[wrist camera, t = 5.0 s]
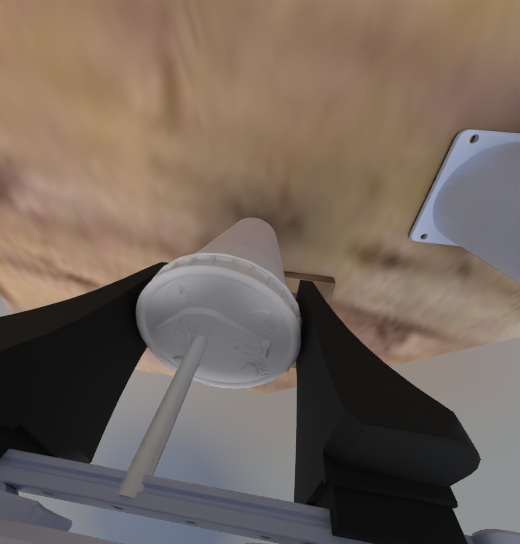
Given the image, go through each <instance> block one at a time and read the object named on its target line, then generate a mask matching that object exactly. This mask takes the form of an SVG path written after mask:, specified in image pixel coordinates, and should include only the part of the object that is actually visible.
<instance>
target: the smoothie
mask: <svg viewBox="0 0 520 544" xmlns="http://www.w3.org/2000/svg"><path fill="white" fill-rule="evenodd" d="M136 322H137V326H138V329H139V332H140V334H141V337H142V338H143V340H144V342H145V343H146V345H147V347H148V348H149V349H150V350H151V351H152V353H153V354H154V355H155V356H156V357H157V358H158V359H159V360H160V361H162V362H163V363H164V364H165V365H166V366H168V367H169V368H171V369H172V370H174V371H175V372H176V374H175V376H174V378H173V380H172V382H171V384H170V386H169V388H168V390H167V392H166V394H165V396H164V398H163V400H162V402H161V404H160V406H159V408H158V410H157V412H156V414H155V416H154V418H153V420H152V422H151V424H150V426H149V428H148V430H147V432H146V434H145V437H144V438H143V440H142V442H141V444H140V447H139V449H138V451H137V453H136V455H135V457H134V459H133V461H132V463H131V465H130V467H129V469H128V472H129V473H128V475H127V477H126V479H125V480H123V482H122V483H121V485H120V491H119V493H118V495H119V496H125V497H130V498H135V496H136V493H137V492H141V491H143V490H144V485H143V484H142V482H141V481H142V479H143V476H144V475H151V476H153V475H154V472H155V470H156V467H157V465H158V462H159V460H160V457H161V455H162V453H163V450H164V448H165V445H166V443H167V440H168V438H169V436H170V433H171V431H172V428H173V426H174V423H175V421H176V418H177V416H178V413H179V411H180V409H181V406H182V404H183V401H184V399H185V396H186V394H187V392H188V389H189V387H190V384H191V382H192V380H194V381H197V382H200V383H203V384H207V385H212V386H216V387H224V388H247V387H254V386H258V385H262V384H266V383H268V382H270V381H272V380H274V379H276V378H278V377H279V376H281V375H282V374H284V373H285V372H286V371H287V370H288V369H289V368H290V367H291V366H292V365H293V363H294V362H295V360H296V358H297V356H298V354H299V350H300V345H301V326H302V319H301V315H300V311H299V306H298V303H297V302H296V300H295V298H294V297H293V295H292V293H291V292H290V290H289V288H288V287H287V285H286V281H285V276H284V271H283V266H282V261H281V256H280V252H279V247H278V242H277V237H276V234H275V232H274V230H273V228H272V227H271V226H270V225H269V224H268V223H267V222H265V221H264V220H261V219H258V218H245V219H242V220H240V221H238V222H237V223H235V224H234V225H233V226H231V227H230V228H229V229H227V230H226V231H225V232H223V233H222V234H221V235H219V236H218V237H217V238H215V239H214V240H213V241H211V242H210V243H209V244H207V245H206V246H205V247H203V248H202V249H201V250H199V251H198V252H196V253H195V254H191V255H187V256H182V257H179V258H178V259H176V260H174V261H172V262H170V263H169V264H167V265H165V266H163V267H162V269H161V270H160V271H159V272H158V273H157V274H156V275H155V277H154V278H153V279H152V281H151V282H149V283H148V284H147V286H146V287H145V288H144V289H143V291H142V292H141V294H140V296H139V298H138V301H137V305H136Z"/></svg>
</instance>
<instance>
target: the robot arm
mask: <svg viewBox="0 0 520 544" xmlns="http://www.w3.org/2000/svg"><path fill="white" fill-rule="evenodd" d="M473 135H474V136H475V139H474V140H473V142H471V143H470V138H471V137H472V136H473ZM423 234H425V236H424V237H422V238H420V237H421V235H423ZM409 237H410V239H412V240H413V241H418V242H426V243H435V244H444V245H453V246H460V247H462V248H464V249H465V250H467V251H468V252H470V253H471V254H473V255H475V256H476V257H478V258H479V259H481V260H483V261H484V262H486V263H487V264H489V265H491V266H492V267H494V268H495V269H497V270H498V271H500V272H502V273H503V274H505V275H506V276H508V277H510V278H511V279H513V280H514V281H516V282H518V283H519V284H520V133H508V132H496V131H484V130H471V129H469V130H463V131H461V132H460V133H459V134H457V136H456V137H455V140H454V142H453V144H452V146H451V148H450V150H449V152H448V154H447V156H446V158H445V161H444V163H443V165H442V167H441V169H440V171H439V173H438V175H437V177H436V180H435V182H434V184H433V186H432V188H431V190H430V192H429V194H428V196H427V199H426V201H425V203H424V205H423V207H422V209H421V211H420V213H419V215H418V217H417V220H416V222H415V224H414V226H413V228H412V230H411V232H410V235H409ZM167 264H169V263H166V262H161V263H158V264H155V265H153V266H151V267H148V268H146V269H144V270H141V271H139V272H137V273H135V274H133V275H130V276H128V277H126V278H124V279H121V280H119V281H116V282H114V283H112V284H109V285H107V286H104V287H102V288H99V289H97V290H94V291H92V292H89V293H86V294H83V295H80V296H77V297H74V298H71V299H68V300H65V301H61V302H58V303H54V304H51V305H47V306H43V307H40V308H36V309H32V310H28V311H24V312H20V313H16V314H12V315H7V316H2V317H0V544H121V543H117V542H113V541H108V540H104V539H99V538H95V537H91V536H85V535H81V534H76V533H72V532H68V531H69V529H70V528H71V526H72V521H71V520H69V519H67V518H64V517H62V516H60V515H58V514H56V513H54V512H52V511H50V510H48V509H47V508H45V507H44V506H43V505H41V504H40V503H39V502H37V501H34V500H31V499H28V498H24V497H21V496H19V495H18V491H21V492H25V493H30V494H35V495H40V496H45V497H50V498H55V499H60V500H65V501H70V502H75V503H80V504H86V505H91V506H95V507H100V508H105V509H110V510H115V511H120V512H125V513H130V514H135V515H140V516H145V517H150V518H155V519H160V520H165V521H170V522H175V523H180V524H185V525H190V526H195V527H200V528H205V529H210V530H215V531H219V532H225V533H229V534H234V535H239V536H244V537H250V538H255V539H259V540H264V541H270V542H274V543H279V544H520V533H517V532H512V531H506V530H499V529H485V530H480V531H477V532H475V533H473V534H472V536H468V535H464V534H463V531H462V529H461V527H460V525H459V523H458V520H457V518H456V516H455V513H454V511H453V509H452V508H457V506H458V504H457V501H456V499H455V496H454V494H453V492H452V490H451V488H450V486H451V485H453V484H455V483H457V482H458V481H460V480H461V479H463V478H465V477H467V476H468V475H470V474H472V473H473V472H474V471H475V470H476V469H477V468H478V465H479V463H480V460H481V459H480V456H479V453H478V451H477V450H476V448H475V447H474V445H473V443H472V441H471V440H470V438H469V436H468V435H467V433H466V432H465V430H464V428H463V427H462V425H461V423H460V421H459V420H458V418H457V417H456V415H455V414H454V413H453V412H452V411H451V410H449V409H448V408H446V407H445V406H443V405H442V404H441V403H439V402H438V401H436V400H435V399H433V398H432V397H430V396H429V395H427V394H426V393H424V392H423V391H421V390H420V389H418V388H417V387H415V386H414V385H413V384H411V383H410V382H409V381H407V380H406V379H405V378H404V377H402V376H401V375H400V374H398V373H397V372H396V371H394V370H393V369H392V368H391V367H389V366H388V365H387V364H386V363H384V362H383V361H382V360H381V359H380V358H379V357H377V356H376V355H375V354H374V353H373V352H372V351H370V350H369V349H368V348H367V347H366V346H365V345H364V344H363V343H362V342H361V341H360V340H359V339H358V338H357V337H356V336H355V335H354V334H353V333H352V332H351V331H350V330H349V329H348V328H347V327H346V326H345V325H344V323H343V322H342V321H341V320H340V319H339V317H338V316H337V315H336V314H335V312H334V311H333V310H332V308H331V307H330V306H329V304H328V303H327V302H326V300H325V299H324V297H323V296H322V294H321V293H320V291H319V290H318V288H317V287H316V285H315V284H314V282H313V281H307V280H300V282H299V287H298V292H297V296H296V302H297V303H298V306H299V311H300V315H301V319H302V326H301V345H300V350H299V354H298V356H297V358H296V371H297V429H296V464H295V490H294V502H288V501H282V500H278V499H272V498H267V497H262V496H257V495H251V494H246V493H241V492H235V491H230V490H225V489H219V488H214V487H208V486H204V485H198V484H193V483H187V482H182V481H177V480H171V479H167V478H161V477H156V476H151V475H144V476H143V479H142V481H141V482H142V484H143V485H144V490H143V491H141V492H137V493H136V496H135V498H130V497H125V496H119V495H118V493H119V491H120V485H121V483H122V482H123V480H125V479H126V477H127V475H128V473H129V472H128V471H124V470H119V469H114V468H108V467H103V466H97V465H92V464H90V463H91V462H92V459H93V457H94V454H95V452H96V449H97V447H98V445H99V442H100V440H101V437H102V435H103V433H104V431H105V428H106V426H107V424H108V421H109V419H110V417H111V415H112V413H113V411H114V409H115V407H116V404H117V402H118V400H119V398H120V396H121V394H122V392H123V390H124V388H125V386H126V384H127V382H128V380H129V378H130V376H131V374H132V372H133V371H134V369H135V367H136V365H137V363H138V361H139V360H140V358H141V356H142V355H143V353H144V351H145V350H146V348H147V345H146V343H145V342H144V340H143V338H142V337H141V334H140V332H139V329H138V326H137V322H136V305H137V301H138V298H139V296H140V294H141V292H142V291H143V289H144V288H145V287H146V286H147V284H148V283H149V282H151V281H152V279H153V278H154V277H155V275H156V274H157V273H158V272H159V271H160V270H161V269H162V267H163V266H165V265H167ZM246 544H259V543H246Z"/></svg>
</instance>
